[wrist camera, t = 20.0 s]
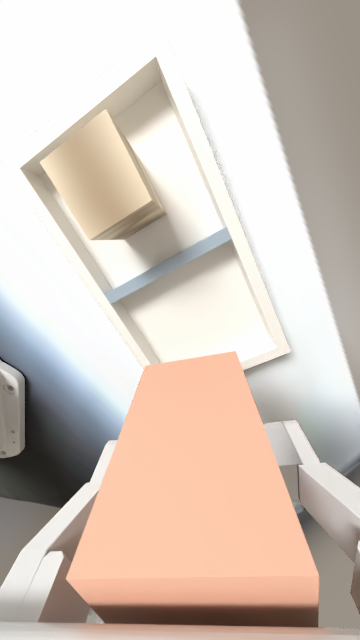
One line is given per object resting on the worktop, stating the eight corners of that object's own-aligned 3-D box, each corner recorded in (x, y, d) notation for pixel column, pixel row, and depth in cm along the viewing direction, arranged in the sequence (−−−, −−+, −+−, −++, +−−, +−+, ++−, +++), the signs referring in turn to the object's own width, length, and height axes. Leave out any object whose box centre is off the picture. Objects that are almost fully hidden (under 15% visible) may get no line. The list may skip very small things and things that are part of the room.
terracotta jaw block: (235, 350, 10) (319, 575, 3) (246, 421, 11) (317, 666, 5) (145, 365, 10) (65, 579, 4) (167, 430, 12) (136, 659, 5)
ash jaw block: (124, 239, 19) (89, 240, 13) (95, 189, 18) (39, 162, 11) (166, 213, 18) (152, 200, 12) (139, 159, 17) (106, 108, 10)
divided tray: (278, 337, 23) (291, 351, 20) (167, 382, 26) (164, 400, 23) (167, 63, 15) (161, 24, 12) (30, 173, 18) (0, 161, 15)
